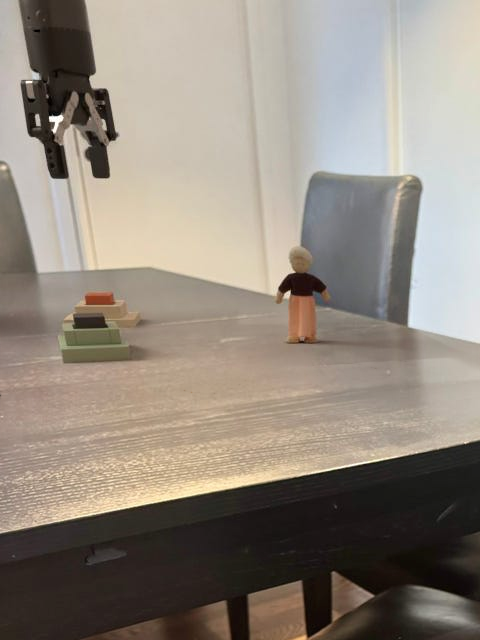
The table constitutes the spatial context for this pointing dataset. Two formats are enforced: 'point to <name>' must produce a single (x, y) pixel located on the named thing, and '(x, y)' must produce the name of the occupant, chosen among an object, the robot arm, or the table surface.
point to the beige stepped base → (108, 313)
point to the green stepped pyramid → (93, 344)
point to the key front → (89, 320)
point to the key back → (99, 299)
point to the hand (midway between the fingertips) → (81, 178)
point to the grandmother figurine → (301, 296)
